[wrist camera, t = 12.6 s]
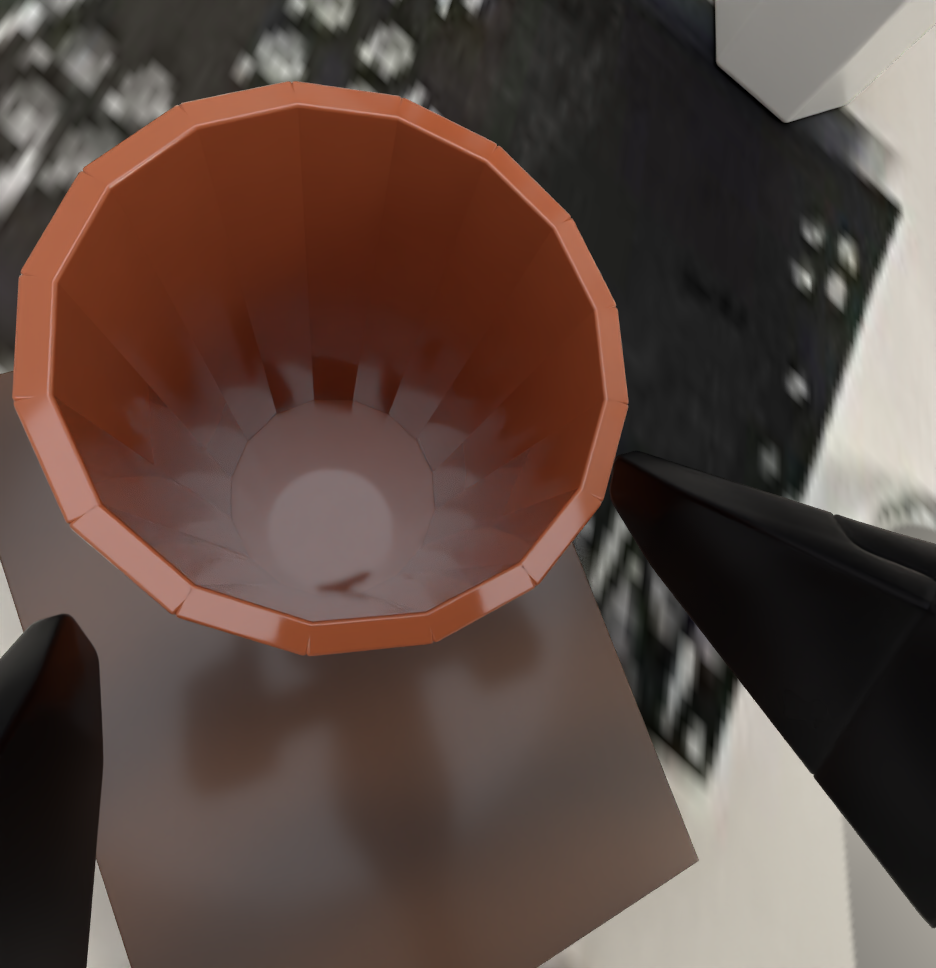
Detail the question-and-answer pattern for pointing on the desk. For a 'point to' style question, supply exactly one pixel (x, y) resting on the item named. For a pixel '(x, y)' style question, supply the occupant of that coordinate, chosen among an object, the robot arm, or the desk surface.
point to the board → (352, 773)
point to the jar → (814, 48)
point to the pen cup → (319, 368)
